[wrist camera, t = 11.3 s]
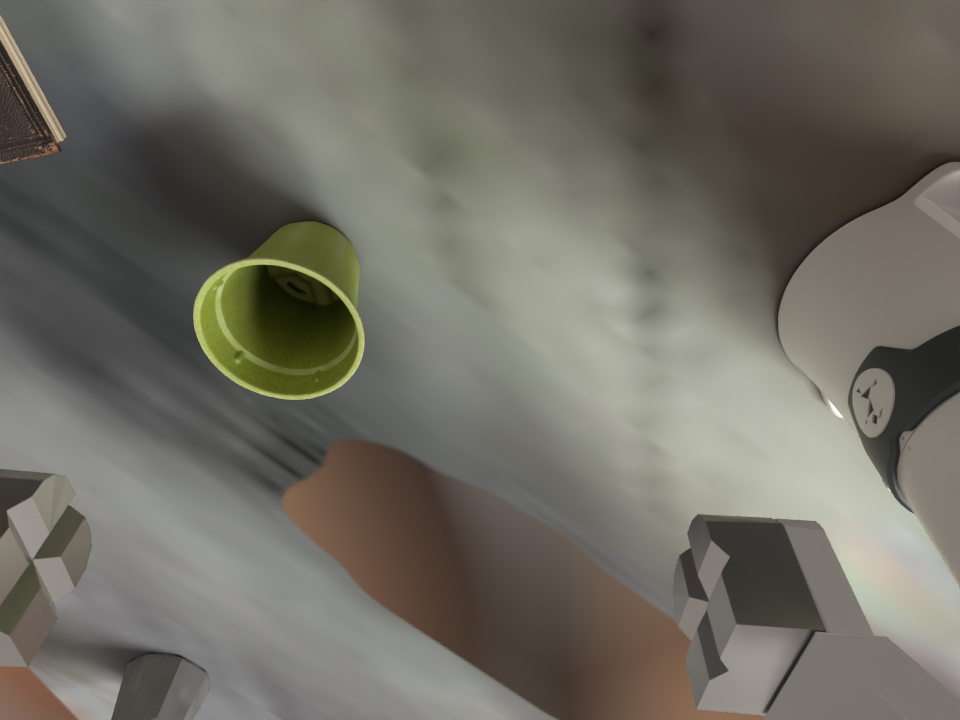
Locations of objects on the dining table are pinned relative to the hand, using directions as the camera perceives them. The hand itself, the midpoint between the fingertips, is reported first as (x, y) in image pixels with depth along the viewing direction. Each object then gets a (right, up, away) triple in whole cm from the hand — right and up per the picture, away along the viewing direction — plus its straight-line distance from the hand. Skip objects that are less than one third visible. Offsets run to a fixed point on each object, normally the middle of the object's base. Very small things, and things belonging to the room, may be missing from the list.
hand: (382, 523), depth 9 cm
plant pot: (-10, +9, +37) cm, 39 cm away
